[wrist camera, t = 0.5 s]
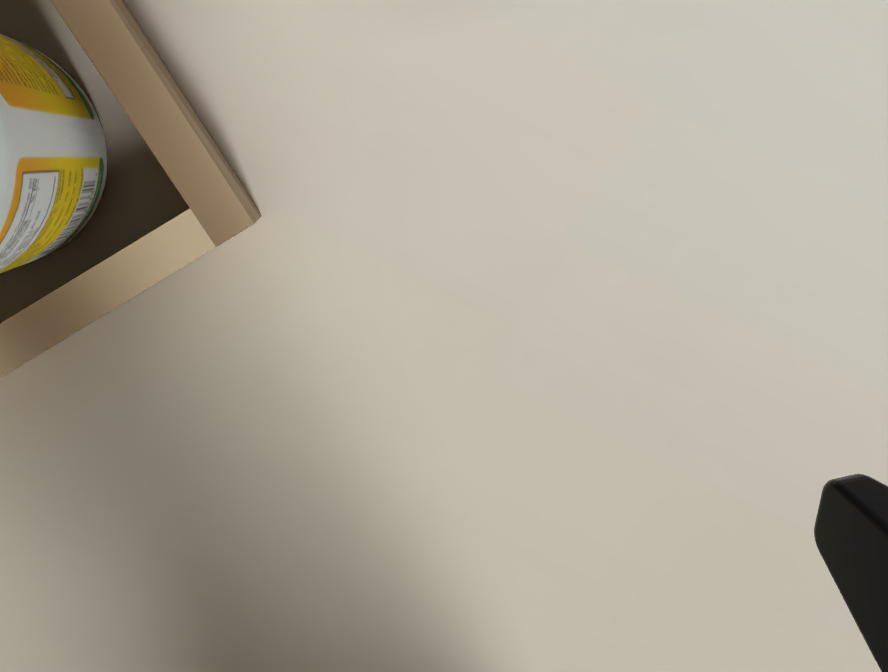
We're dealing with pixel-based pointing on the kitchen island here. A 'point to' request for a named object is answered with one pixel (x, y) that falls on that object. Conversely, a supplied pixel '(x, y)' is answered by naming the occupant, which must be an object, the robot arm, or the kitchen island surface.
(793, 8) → the kitchen island surface
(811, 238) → the kitchen island surface
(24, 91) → the supplement bottle
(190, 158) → the rail
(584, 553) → the kitchen island surface
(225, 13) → the kitchen island surface
